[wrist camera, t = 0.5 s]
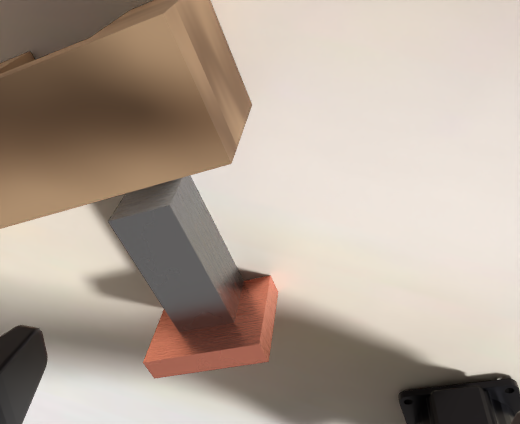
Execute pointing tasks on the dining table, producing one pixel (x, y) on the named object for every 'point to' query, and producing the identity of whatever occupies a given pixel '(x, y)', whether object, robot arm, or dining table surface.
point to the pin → (193, 283)
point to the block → (119, 111)
